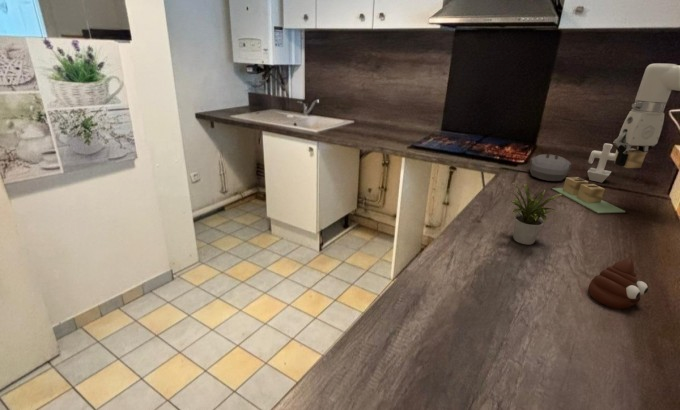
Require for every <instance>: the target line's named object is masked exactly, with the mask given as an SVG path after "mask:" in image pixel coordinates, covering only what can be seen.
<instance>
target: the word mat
mask: <svg viewBox="0 0 680 410" xmlns="http://www.w3.org/2000/svg"><path fill="white" fill-rule="evenodd" d="M551 190H553V191H555V192H556V193H557V194H563V195H562V196H564V197H566V198H567V199H570V200H571V201H573V202H575V203H577V204H579V205H581V206H583V207H584V208H586V209H588V210H590V211H592V212H594V213H596V214H597V215H598V214H599V215H600V214H618V213H619V214H620V213H621V214H623V213H626V211H625V209H622V208H619V207H618V206H615V205H613V204H611V203H609V202H607V201H605V200H603V199H601V202H598V203H587V202H585V201H583V200H581V199H579V198H577V195H571V194H569V193H567V192H565V191H563V187H552V188H551Z"/></svg>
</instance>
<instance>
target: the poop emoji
mask: <svg viewBox="0 0 680 410" xmlns="http://www.w3.org/2000/svg"><path fill="white" fill-rule="evenodd" d="M648 291H649V287H648V285H647V283H646V282H645V281H642V280H639V279H638V277H637V273H636V272H635V265H634V261H633V259H632V258H630V257H626V258H624V259H622V260H619V261H617V262H615V263H613V264H612V266H607V267H606V268H605V269H602V270H601V271H600V272H599V274H598V275H595V276H594V277H593V278H592V280H590V282H589V285H588V293H589V295H590V296H591V298H593V299H594V300H595V301H597V302H598V303H600V304H602V305H604V306H607V307H609V308H611V309H620V310H621V309H622V310H623V309H628V308H630V307H632V306H634V305H636V304H637V303H639V302H640V300H641V296H642V295H645V294H647V292H648Z"/></svg>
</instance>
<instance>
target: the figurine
mask: <svg viewBox="0 0 680 410" xmlns="http://www.w3.org/2000/svg"><path fill="white" fill-rule="evenodd" d="M613 146H614V144H613V143H603V146H602V151H601V150H592V151H591V152H590V155H589V157H588V161H587V163H588V164H593V163H594V160H595V159H599V160H598V162H597V165H596V166H597V167H590V168H589V169H587V177H588V180H589V181H592V182H598V183H601V184H602V183H604V181H605V180H607V178H608V177H609V176H610V175H611V173H612V171H611V170H605V167H606V165H607V162H608V161H612V162H615V159H616V156H617V153H618V152H617V149H616V151H615V152H611V150H612V148H613Z"/></svg>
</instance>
